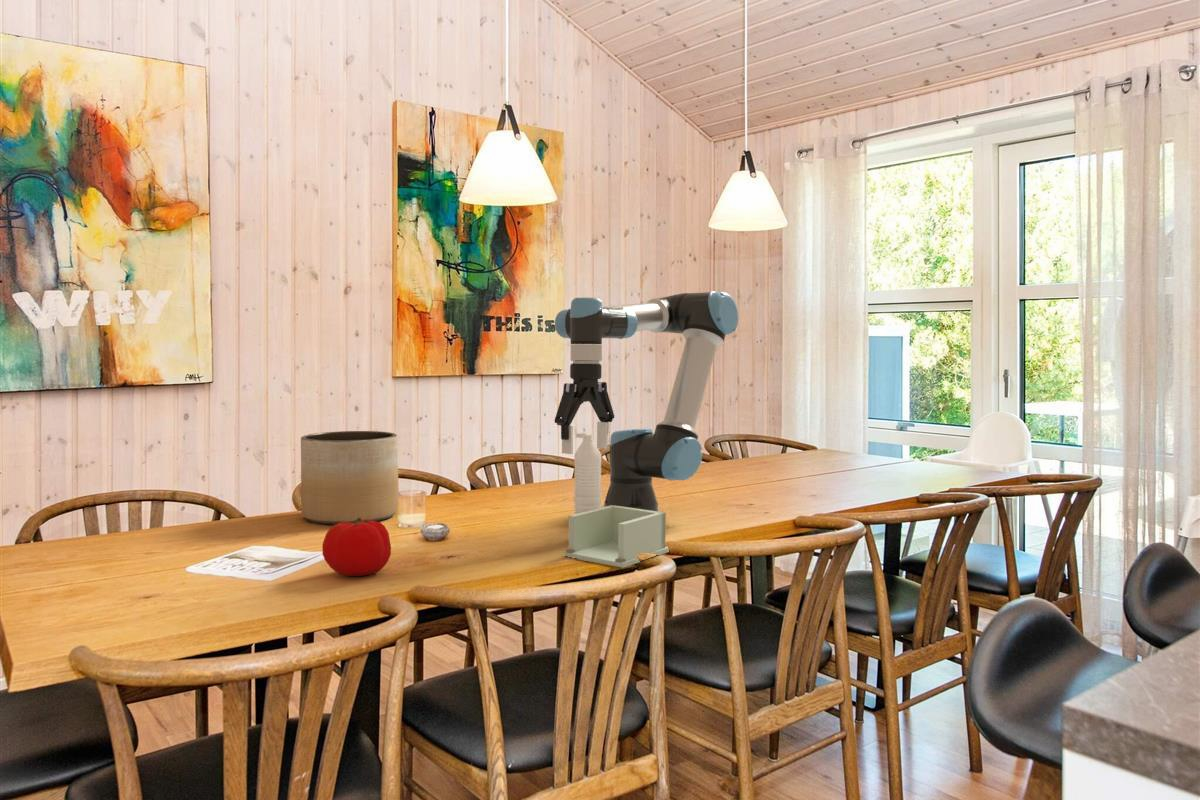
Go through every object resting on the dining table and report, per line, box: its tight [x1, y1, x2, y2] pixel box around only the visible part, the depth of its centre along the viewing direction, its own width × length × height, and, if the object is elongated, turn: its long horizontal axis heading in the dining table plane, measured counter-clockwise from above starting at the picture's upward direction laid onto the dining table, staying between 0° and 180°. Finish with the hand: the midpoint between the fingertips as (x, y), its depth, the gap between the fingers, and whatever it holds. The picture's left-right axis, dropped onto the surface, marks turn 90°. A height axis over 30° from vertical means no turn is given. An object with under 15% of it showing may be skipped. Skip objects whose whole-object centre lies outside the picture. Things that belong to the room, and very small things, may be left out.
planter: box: [300, 430, 400, 526], centre depth 237 cm, size 25×25×22 cm
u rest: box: [563, 505, 669, 569], centre depth 196 cm, size 18×16×9 cm
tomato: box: [321, 518, 392, 577], centre depth 178 cm, size 12×13×12 cm
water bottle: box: [573, 432, 602, 514], centre depth 212 cm, size 9×6×25 cm
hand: (585, 451), depth 211 cm, fingers open, 13 cm apart
